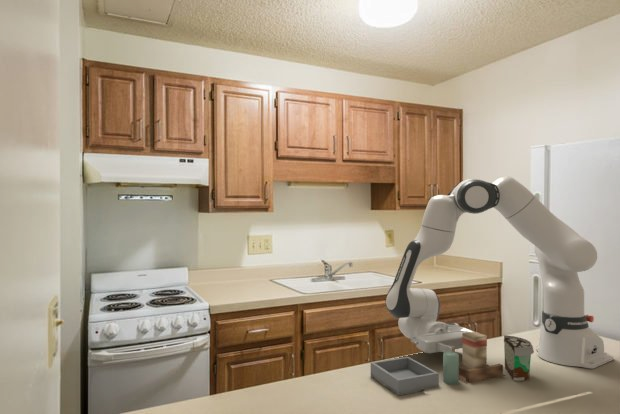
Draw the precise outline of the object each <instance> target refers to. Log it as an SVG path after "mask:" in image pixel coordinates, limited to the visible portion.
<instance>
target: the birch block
mask: <svg viewBox="0 0 620 414" xmlns="http://www.w3.org/2000/svg"><path fill="white" fill-rule="evenodd" d="M473 331H474V330H473ZM487 338H488V337H487V335H485V334H484V333H480V332H477V331H474V332H467V333H462V348H461V349H462V353H461V354H462V361H461V363H462V365H461V367H463V368H465V369H467V370H468V369H473V368H479V367H484V366H487V364H488V362H487V360H488V359H487V356H488V355H487V346H488V340H487Z"/></svg>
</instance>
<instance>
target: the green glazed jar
mask: <svg viewBox="0 0 620 414" xmlns="http://www.w3.org/2000/svg"><path fill="white" fill-rule="evenodd" d="M459 366H460V355H459V353H457V352H456V351H455V352H442V373H443V374H442V381H443V383H444V384H447V385H452V386H455V385H458V384H459V383H460V380H459Z"/></svg>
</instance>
